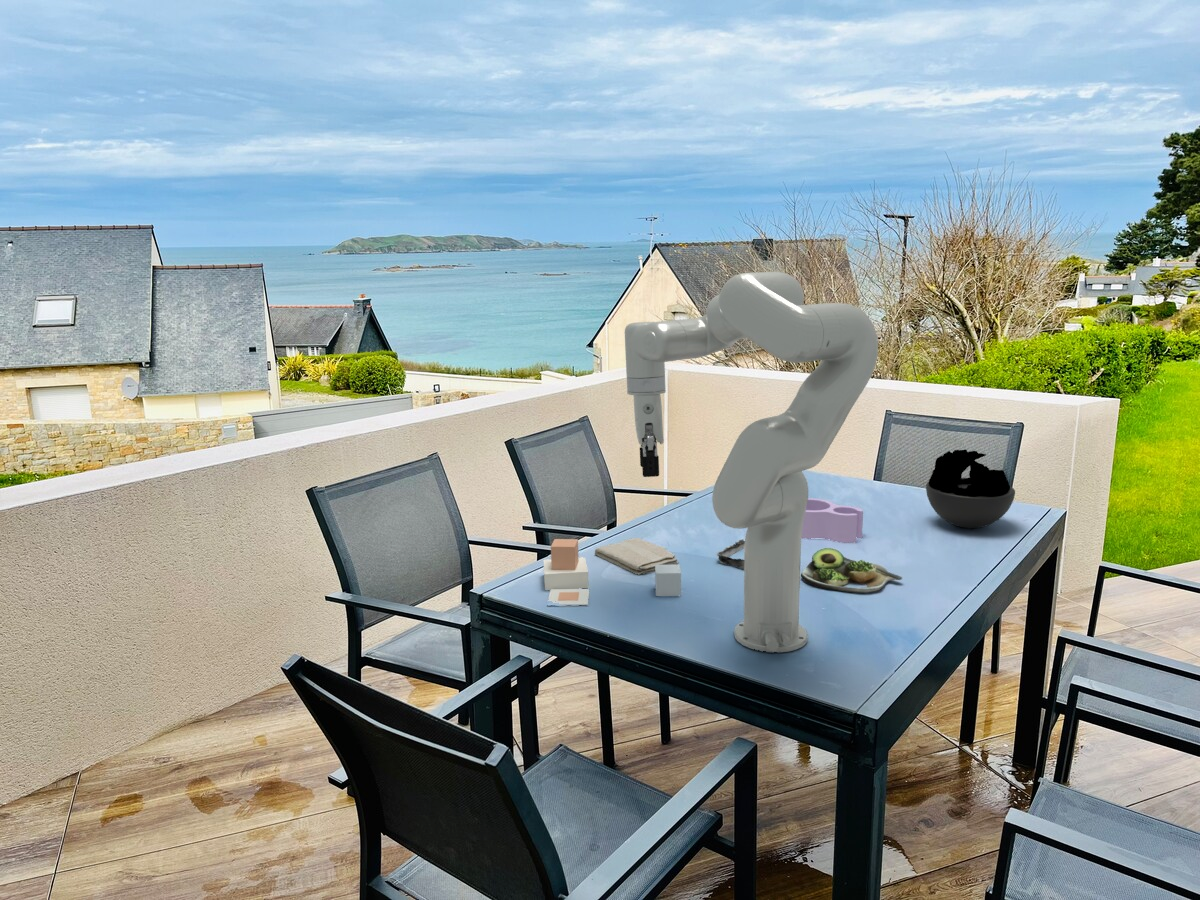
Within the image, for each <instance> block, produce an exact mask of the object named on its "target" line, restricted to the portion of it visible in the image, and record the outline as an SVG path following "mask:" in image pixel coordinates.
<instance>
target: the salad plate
mask: <svg viewBox="0 0 1200 900" xmlns="http://www.w3.org/2000/svg"><path fill="white" fill-rule="evenodd" d="M800 578H802V580H803V581H804V582H805V583H806V584H807V585H810V586H811V587H816V588H819V589H824V590H833V591H839V592H847V593H858V594H861V593H862V594H863V593H864V594H866V593H868V594H869V593H875V592H878V591H880V590H881V589H883V588H884V587H885V585H886V584H887V583H888V582H889V581H901V580H903V576H901V575H897V574H895V573H892V572H889V571H888V570H887V569H886V568H885V567H884V566H882V565H880V564H877V563H874V562H873V563H872V562H868V561H867V562H866V561H865V560H863V559H861V560H858V561H857V560H854V559H853V560H852V559H850V558H847V557H846V556H844V555H843V554H842V553H841V551H840V550H837V549H834V548H831V547H829V548H828V547H827V548H826V547H825V548H822V549H819V550H816V552H815V553H813V555H812V557H811V562H809V563H808V564H807V566H806V567H805V568H804V569H803V570H802V572H800ZM849 584H858V585H866V586H865V587H851V586H849V587H848V586H845V585H849Z"/></svg>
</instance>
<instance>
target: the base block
mask: <svg viewBox="0 0 1200 900" xmlns="http://www.w3.org/2000/svg"><path fill="white" fill-rule="evenodd" d="M578 558H579V562H578V565H577V567H576V570H552V566H551V558H550V559H549V558H546V559H543V561H542V562H543V577H544V578H543V579H544V580H543V581H544V591H545V590H551V589H579V588H588V589H590V588H589V587H590V586H589V570H588V565H587V561H586V557H585V556H584V557H583V556H581V557H578Z"/></svg>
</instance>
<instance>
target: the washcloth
mask: <svg viewBox="0 0 1200 900" xmlns="http://www.w3.org/2000/svg"><path fill="white" fill-rule="evenodd" d="M594 555H596V556H597V557H599V558H600V559H601V558H602V559H603V560H606V561H607V562H609V563H611V564H613V565H617V566H618V567H620V568H621V569H625V570H627V571H628V570H629V571H628V572H630V571H631V572H630V573H632V572H633V574H634V573H635V574H634V575H636V574H638V575H637V576H640V575H646V574H645V573H648V574H651V573H650V572H652V573H655V565H680V563H679V562H678V559H677V558H676V554H674V553H672V552H670V551H669V550H667V548H666V547H665V546H660V545H656V544H654V543H653V542H650V541H647V540H644V539H642V538H640V537H633V538H629V539H624V540H622V541H619V542H617V543H611V544H607V545H606V544H605V545H602V546H599V547H596V548H595V550H594ZM641 573H642V574H641Z"/></svg>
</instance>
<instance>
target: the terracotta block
mask: <svg viewBox="0 0 1200 900" xmlns="http://www.w3.org/2000/svg"><path fill="white" fill-rule="evenodd" d="M579 558H580V557H579V539H577V538H574V539H573V538H572V539H571V538H567V539H565V538H554V539H553V541H552V543H551V545H550V559H551V566H552V570H576V567H577V565H578V562H579Z"/></svg>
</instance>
